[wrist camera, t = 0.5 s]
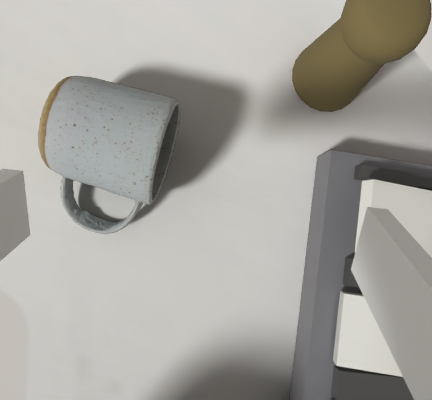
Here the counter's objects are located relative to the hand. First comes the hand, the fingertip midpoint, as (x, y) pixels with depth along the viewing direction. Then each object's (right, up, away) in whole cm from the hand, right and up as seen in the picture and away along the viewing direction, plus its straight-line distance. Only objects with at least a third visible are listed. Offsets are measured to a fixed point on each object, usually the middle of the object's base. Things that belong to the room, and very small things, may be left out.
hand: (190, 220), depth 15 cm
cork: (+10, +11, +18) cm, 24 cm away
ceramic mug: (-7, +4, +16) cm, 18 cm away
